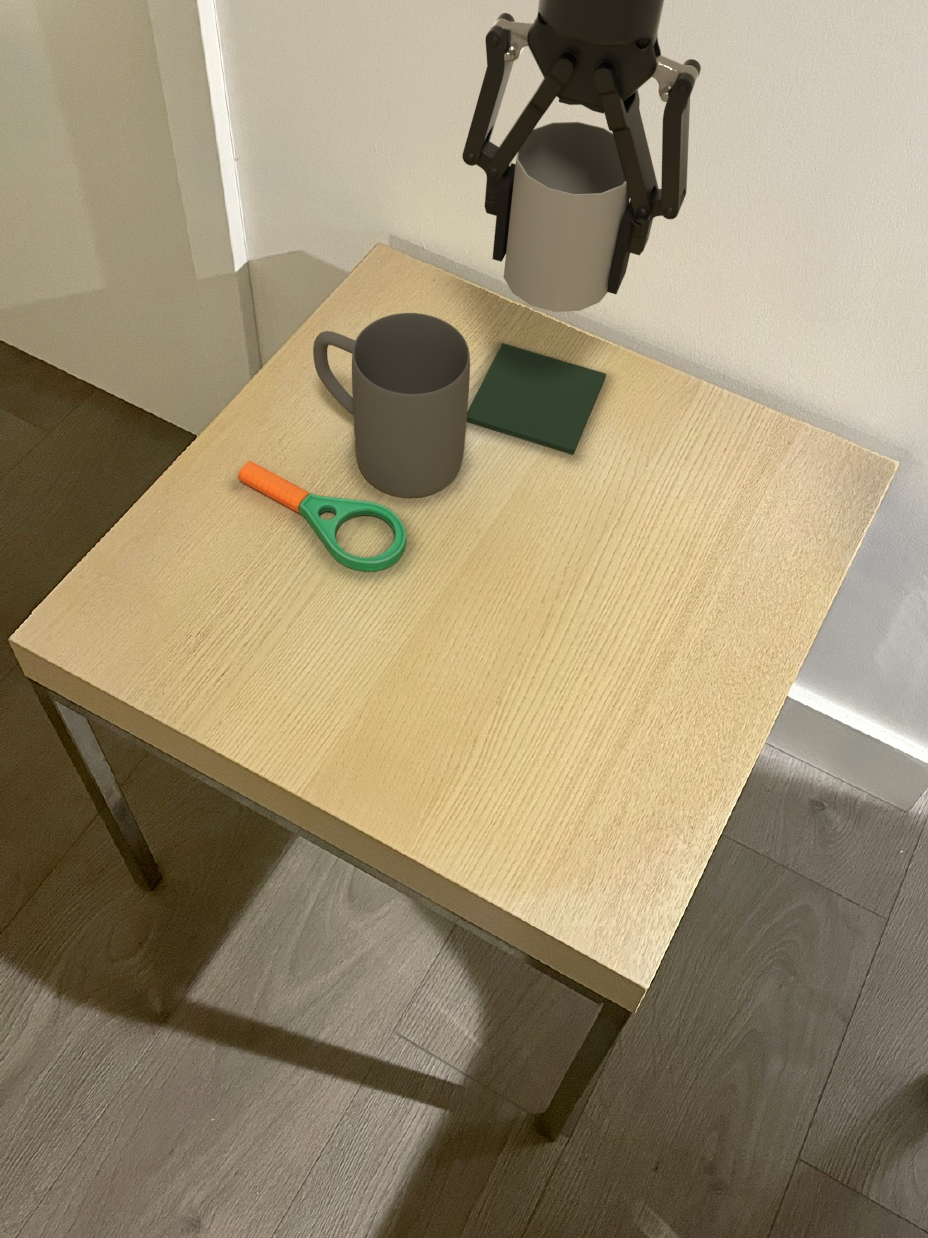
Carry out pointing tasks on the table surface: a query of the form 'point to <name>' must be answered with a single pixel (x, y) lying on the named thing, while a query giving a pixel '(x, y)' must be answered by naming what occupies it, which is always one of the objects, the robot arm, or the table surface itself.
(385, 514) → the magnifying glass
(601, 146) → the cup
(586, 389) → the coaster mat
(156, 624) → the table surface
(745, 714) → the table surface
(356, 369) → the mug
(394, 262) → the table surface
